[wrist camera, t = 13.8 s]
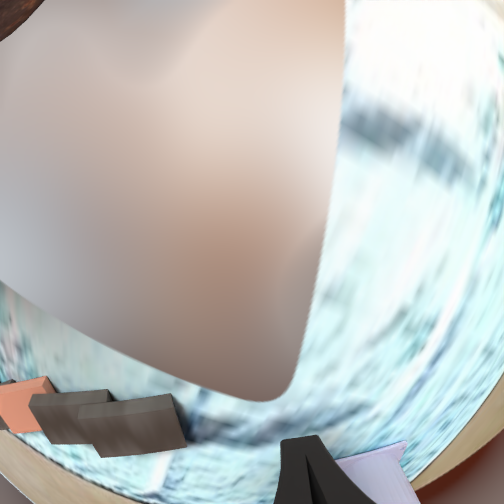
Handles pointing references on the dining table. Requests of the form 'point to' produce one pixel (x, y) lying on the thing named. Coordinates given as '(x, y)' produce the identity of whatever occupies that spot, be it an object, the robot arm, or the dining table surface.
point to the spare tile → (22, 403)
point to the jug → (15, 14)
